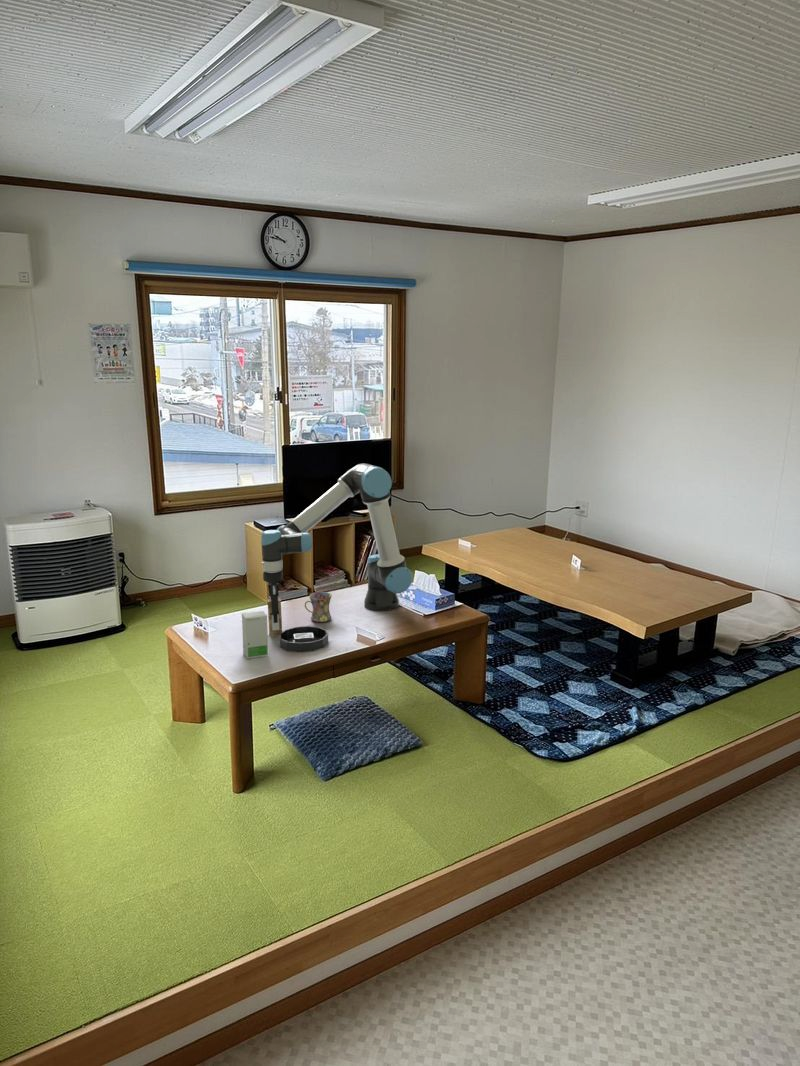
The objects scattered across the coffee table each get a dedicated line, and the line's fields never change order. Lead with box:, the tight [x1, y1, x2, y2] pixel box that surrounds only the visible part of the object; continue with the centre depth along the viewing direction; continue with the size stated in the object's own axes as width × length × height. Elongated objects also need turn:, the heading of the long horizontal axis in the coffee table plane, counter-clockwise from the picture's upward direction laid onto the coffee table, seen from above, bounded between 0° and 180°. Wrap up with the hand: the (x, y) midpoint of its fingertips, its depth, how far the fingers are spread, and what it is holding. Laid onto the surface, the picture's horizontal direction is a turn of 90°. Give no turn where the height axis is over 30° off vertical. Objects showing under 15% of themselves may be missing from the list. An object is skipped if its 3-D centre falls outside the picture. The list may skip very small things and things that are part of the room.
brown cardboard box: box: [267, 598, 283, 637], centre depth 293 cm, size 5×3×14 cm, turn 102°
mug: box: [304, 591, 333, 623], centre depth 308 cm, size 12×9×11 cm
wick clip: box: [293, 633, 314, 643], centre depth 284 cm, size 8×5×2 cm
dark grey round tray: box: [278, 625, 329, 653], centre depth 284 cm, size 18×18×4 cm
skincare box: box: [241, 610, 269, 660], centre depth 272 cm, size 8×7×16 cm
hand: (275, 626), depth 294 cm, fingers open, 8 cm apart
